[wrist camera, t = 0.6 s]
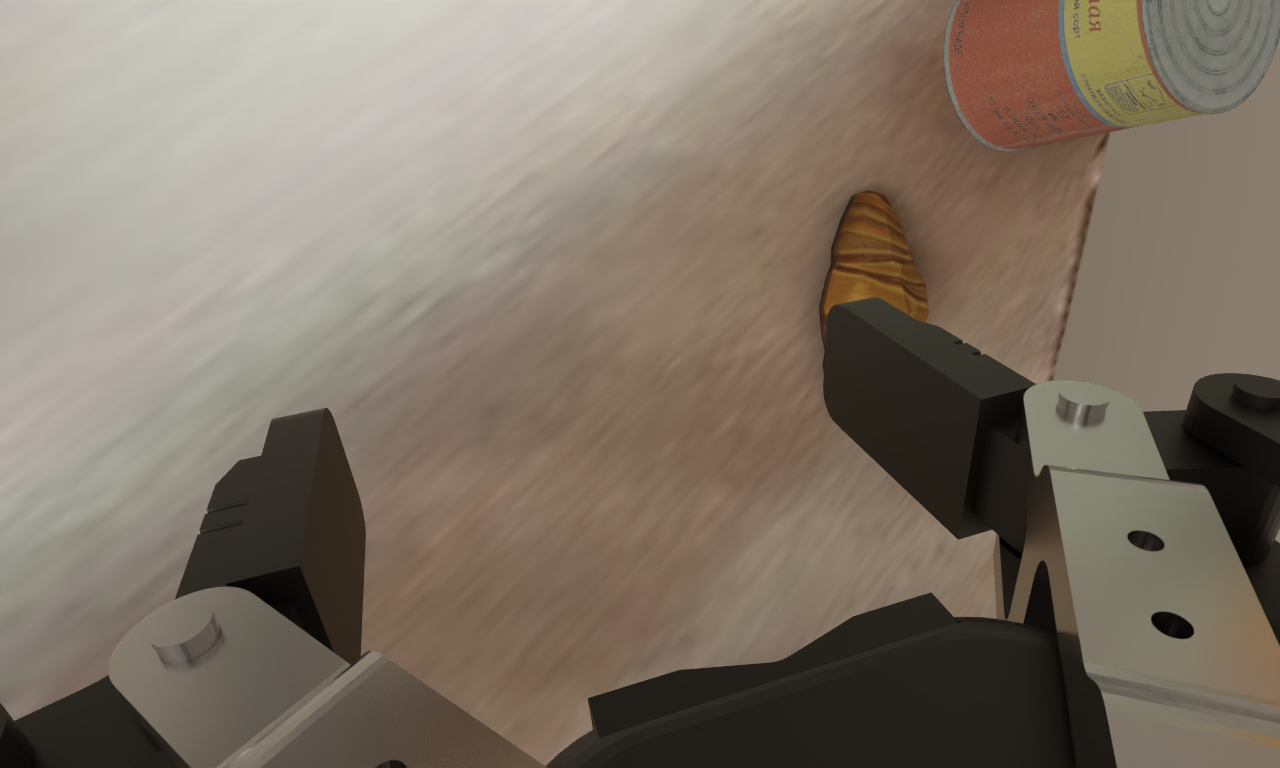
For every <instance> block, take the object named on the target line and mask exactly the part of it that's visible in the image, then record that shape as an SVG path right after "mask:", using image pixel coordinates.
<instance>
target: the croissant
mask: <svg viewBox="0 0 1280 768" xmlns="http://www.w3.org/2000/svg"><path fill="white" fill-rule="evenodd" d="M871 297H879V298H881V299H883V300H884V301H886V302H887V303H889V304H891V305H892V306H894V307H896V308H897V309H899V310H901V311H902V312H904V313H906V314H907V315H909V316H911V317H912V318H914V319H916V320H918V321H921V322H924V323H926V319H927V316H928V313H929V312H928V303H927V294H926V286H925V283H924V281H923V280H922V278H921V277H920V275H919V274H918V272H917V271H916V269H915V268H914V265H913V261H912V258H911V254H910V251H909V248H908V245H907V242H906V240H905V237H904V234H903V231H902V229H901V226H900V223H899V220H898V218H897V216H896V215H895V213H894V211H893V209H892V207H891V206H890V204H889V202H888V200H887V198H886V197H885V196H884V195H882V194H879V193H876V192H872V191H865V192H860V193H857V194H855V195H853V196H852V197H851V199H850V201H849V203H848V205H847V207H846V210H845V212H844V214H843V216H842V218H841V221H840V224H839V227H838V230H837V233H836V236H835V239H834V242H833V245H832V248H831V266H830V269H829V272H828V274H827V277H826V280H825V285H824V289H823V293H822V298H821V302H820V306H819V310H820V322H821V334H822V339H823V344H824V349H825V338H826V320H827V315H828V312H829V310H830V308H831V307H832V306H834V305H837V304H842V303H847V302H852V301H857V300H862V299H867V298H871ZM824 361H825V353H824V360H823V370H824Z"/></svg>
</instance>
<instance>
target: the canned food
mask: <svg viewBox="0 0 1280 768" xmlns="http://www.w3.org/2000/svg"><path fill="white" fill-rule="evenodd" d="M1279 37H1280V0H956V2H955V5H954V7H953V9H952V12H951V15H950V18H949V21H948V25H947V30H946V36H945V45H944V67H945V76H946V82H947V86H948V91H949V94H950V97H951V100H952V103H953V105H954V108H955V110H956V112H957V114H958V116H959V117H960V119H961V121H962V122H963V124H964V125H965V127H966V128H967V129H968V130H969V132H970V133H971V134H972V135H973V136H974V137H975V138H976V139H977V140H979V141H980V142H981V143H983V144H985V145H986V146H988V147H990V148H993V149H995V150H999V151H1005V152H1013V151H1019V150H1023V149H1026V148H1029V147H1032V146H1037V145H1043V144H1048V143H1053V142H1058V141H1064V140H1069V139H1074V138H1080V137H1085V136H1090V135H1095V134H1101V133H1106V132H1111V131H1117V130H1122V129H1127V128H1132V127H1138V126H1142V125H1148V124H1153V123H1159V122H1164V121H1169V120H1175V119H1180V118H1185V117H1190V116H1196V115H1201V114H1216V113H1222V112H1226V111H1229V110H1231V109H1233V108H1235V107H1237V106H1238V105H1239V104H1241V103H1242V102H1243V101H1245V100H1246V99H1247V98H1248V97H1249V96H1250V95H1251V94H1252V93H1253V91H1254V90H1255V89H1256V88H1257V86H1258V85H1259V83H1260V82H1261V80H1262V79H1263V77H1264V76H1265V73H1266V72H1267V70H1268V68H1269V66H1270V63H1271V61H1272V59H1273V56H1274V53H1275V50H1276V47H1277V44H1278V40H1279Z"/></svg>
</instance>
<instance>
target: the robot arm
mask: <svg viewBox="0 0 1280 768" xmlns="http://www.w3.org/2000/svg"><path fill="white" fill-rule="evenodd" d="M823 392H824V399H825V403H826V407H827V410H828V412H829V414H830V416H831V418H832V419H833V421H834V422H835V423H836V424H837V425H838V426H839V427H840V428H841V429H842V430H843V431H844V432H845V433H846V434H847V435H848V436H849V437H850V438H851V439H853V440H854V441H855V442H856V443H857V444H858V445H859V446H860V447H861V448H862V449H863V450H864V451H865V452H866V453H867V454H868V455H869V456H870V457H872V458H873V459H874V460H875V461H876V462H877V463H878V464H879V465H880V466H881V467H882V468H883V469H884V470H885V471H886V472H887V473H888V474H890V475H891V476H892V477H893V478H894V479H895V480H896V481H897V482H898V483H899V484H900V485H901V486H902V487H903V488H904V489H905V490H906V491H907V492H909V493H910V494H911V495H912V496H913V497H914V498H915V499H916V500H917V501H918V502H919V503H920V504H921V505H922V506H923V507H924V508H925V509H926V510H928V511H929V512H930V513H931V514H932V515H933V516H934V517H935V518H936V519H937V520H938V521H939V522H940V523H941V524H942V525H943V526H944V527H945V528H947V529H948V530H949V531H950V532H951V533H952V534H953V535H954V536H955V537H956V538H957V539H962V538H965V537H968V536H972V535H975V534H979V533H982V532H985V531H989V530H994V531H995V532H996V533H997V536H996V541H995V546H994V553H993V559H994V577H995V594H996V612H997V619H993V618H984V617H953V616H952V615H951V614H950V612H949V611H948V610H947V609H946V608H945V607H944V606H943V605H942V604H941V603H940V602H939V600H938V599H937V598H936V597H935V596H934V595H933V594H932V593H928V594H925V595H921V596H918V597H915V598H912V599H908V600H905V601H902V602H899V603H895V604H892V605H889V606H886V607H882V608H879V609H876V610H873V611H869V612H866V613H863V614H860V615H856V616H853V617H852V618H850V619H849V620H847V621H845V622H844V623H842V624H841V625H839V626H837V627H836V628H834V629H832V630H831V631H829V632H828V633H826V634H824V635H823V636H821V637H820V638H818V639H816V640H815V641H813V642H812V643H810V644H808V645H807V646H805V647H803V648H802V649H800V650H799V651H797V652H795V653H794V654H792V655H791V656H789V657H787V658H785V659H783V660H780V661H777V662H771V663H760V664H748V665H736V666H723V667H711V668H699V669H687V670H678V671H675V672H672V673H668V674H665V675H662V676H659V677H655V678H652V679H649V680H646V681H642V682H639V683H636V684H633V685H629V686H626V687H623V688H620V689H616V690H613V691H610V692H607V693H603V694H600V695H597V696H594V697H590V698H588V702H589V708H590V714H591V720H592V726H593V730H592V731H590V732H588V733H587V734H585V735H584V736H582V737H580V738H579V739H577V740H576V741H575V742H573V743H572V744H571V745H569V746H568V747H567V748H565V749H564V750H563V751H562V752H560V753H559V754H558V755H557V756H556V757H555V758H554V759H553V760H552V761H551V762H549V763H548V764H547V765H546V766H544V765H543V764H541V763H540V762H538V761H537V760H535V759H534V758H533V757H531V756H530V755H528V754H527V753H525V752H524V751H522V750H521V749H519V748H518V747H517V746H515V745H514V744H512V743H511V742H509V741H508V740H506V739H505V738H503V737H502V736H501V735H499V734H498V733H496V732H495V731H493V730H492V729H490V728H489V727H487V726H486V725H485V724H483V723H482V722H480V721H479V720H477V719H476V718H474V717H473V716H471V715H470V714H469V713H467V712H466V711H464V710H463V709H461V708H460V707H458V706H457V705H456V704H454V703H453V702H451V701H450V700H448V699H447V698H445V697H444V696H442V695H441V694H440V693H438V692H437V691H435V690H434V689H432V688H431V687H429V686H428V685H426V684H425V683H424V682H422V681H421V680H419V679H418V678H416V677H415V676H413V675H412V674H410V673H409V672H408V671H406V670H405V669H403V668H402V667H400V666H399V665H397V664H396V663H394V662H393V661H392V660H390V659H389V658H387V657H385V656H384V655H382V654H379V653H377V652H373V651H368V652H366V653H364V654H363V655H362V656H361V635H362V611H363V588H364V564H365V540H366V532H365V521H364V515H363V510H362V505H361V501H360V497H359V494H358V491H357V488H356V485H355V482H354V479H353V475H352V472H351V469H350V466H349V463H348V460H347V457H346V454H345V451H344V448H343V445H342V442H341V439H340V436H339V433H338V430H337V427H336V424H335V421H334V418H333V416H332V414H331V412H330V411H329V409H328V408H323V409H319V410H314V411H309V412H304V413H299V414H294V415H289V416H284V417H279V418H275V419H272V421H271V423H270V426H269V430H268V434H267V437H266V441H265V444H264V448H263V452H262V455H261V456H258V457H253V458H248V459H244V460H239V461H238V462H237V463H236V464H235V465H234V466H233V467H232V468H231V469H230V470H229V472H228V473H227V474H226V475H225V476H224V477H223V478H222V479H221V480H220V481H219V482H218V483H217V484H216V485H215V488H214V491H213V493H212V496H211V499H210V502H209V505H208V508H207V511H208V514H205V516H204V519H203V522H202V524H201V527H200V535H198V536H197V538H196V541H195V544H194V547H193V550H192V552H191V555H190V558H189V561H188V564H187V566H186V569H185V572H184V575H183V578H182V580H181V583H180V586H179V589H178V592H177V595H176V597H175V600H173V601H171V602H169V603H167V604H165V605H164V606H162V607H160V608H158V609H157V610H155V611H154V612H152V613H151V614H149V615H148V616H146V617H145V618H144V619H142V620H141V621H140V622H139V623H137V624H136V625H135V626H134V627H133V628H132V629H131V630H130V631H129V632H128V633H127V634H126V635H125V636H124V637H123V639H122V640H121V641H120V642H119V644H118V645H117V647H116V649H115V650H114V652H113V654H112V656H111V659H110V662H109V668H108V673H109V675H108V676H106V677H105V678H103V679H101V680H100V681H98V682H96V683H94V684H92V685H90V686H88V687H86V688H84V689H82V690H80V691H77V692H75V693H73V694H71V695H69V696H67V697H65V698H63V699H60V700H58V701H56V702H54V703H52V704H50V705H48V706H46V707H43V708H41V709H39V710H37V711H35V712H33V713H31V714H28V715H26V716H24V717H22V718H20V719H18V720H16V721H14V720H13V719H12V718H11V716H10V715H9V713H8V712H7V711H6V709H5V708H4V707H3V706H2V704H1V703H0V768H1280V543H1279V542H1277V541H1275V538H1276V536H1277V533H1278V531H1279V529H1280V381H1279V380H1275V379H1271V378H1267V377H1261V376H1255V375H1249V374H1237V373H1225V374H1214V375H1209V376H1206V377H1203V378H1201V379H1199V380H1198V381H1197V382H1196V383H1195V385H1194V388H1193V391H1192V394H1191V397H1190V400H1189V403H1188V406H1187V410H1181V411H1179V410H1178V411H1152V412H1143V411H1142V410H1141V408H1140V407H1139V405H1138V404H1137V403H1136V402H1134V401H1133V400H1132V399H1130V398H1129V397H1127V396H1126V395H1124V394H1122V393H1120V392H1118V391H1115V390H1113V389H1110V388H1107V387H1104V386H1100V385H1097V384H1092V383H1087V382H1080V381H1068V380H1062V381H1061V380H1058V381H1048V382H1043V383H1039V384H1035V383H1033V382H1031V381H1030V380H1028V379H1026V378H1025V377H1023V376H1021V375H1020V374H1018V373H1016V372H1015V371H1013V370H1011V369H1010V368H1008V367H1006V366H1005V365H1003V364H1001V363H999V362H998V361H996V360H994V359H993V358H991V357H989V356H988V355H986V354H983V355H981V353H980V351H979V350H978V349H976V348H974V347H972V346H971V345H969V344H967V343H965V344H963V343H962V340H961V339H959V338H957V337H956V336H954V335H952V334H951V333H949V332H947V331H946V330H944V329H942V328H940V327H938V326H934V325H931V324H928V323H924V322H921V321H918V320H916V319H914V318H912V317H911V316H909V315H907V314H906V313H904V312H902V311H901V310H899V309H897V308H896V307H894V306H892V305H891V304H889V303H887V302H886V301H884V300H883V299H881V298H879V297H871V298H867V299H862V300H857V301H852V302H847V303H842V304H837V305H834V306H832V307H831V308H830V310H829V312H828V315H827V320H826V338H825V361H824V383H823Z"/></svg>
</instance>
